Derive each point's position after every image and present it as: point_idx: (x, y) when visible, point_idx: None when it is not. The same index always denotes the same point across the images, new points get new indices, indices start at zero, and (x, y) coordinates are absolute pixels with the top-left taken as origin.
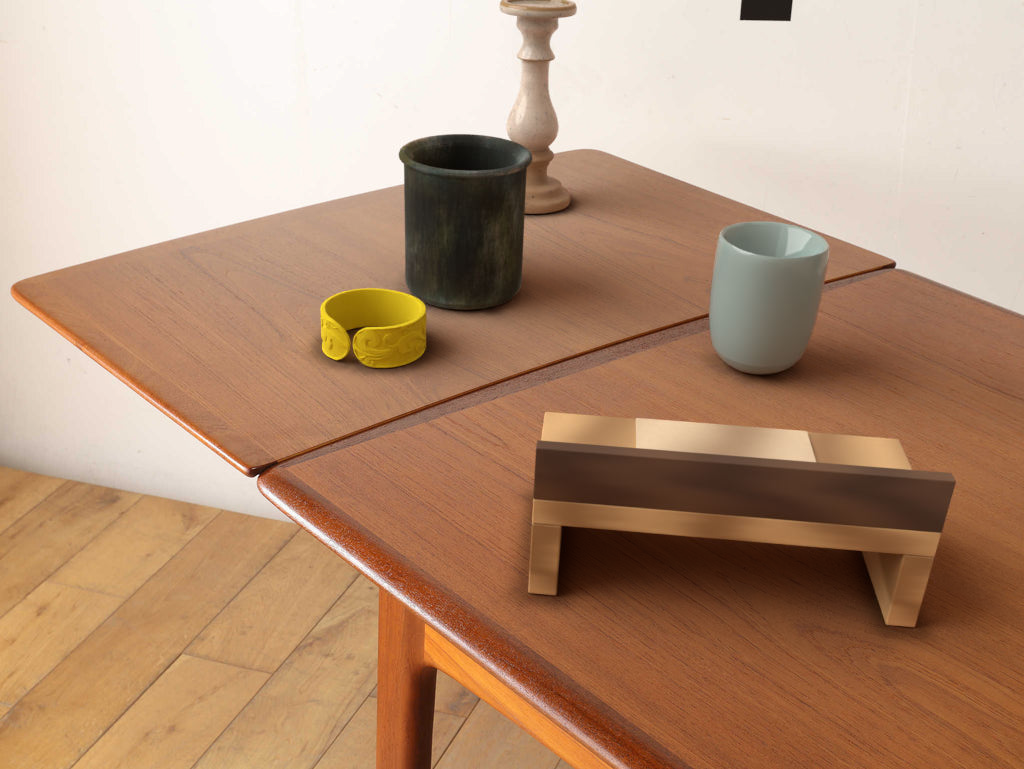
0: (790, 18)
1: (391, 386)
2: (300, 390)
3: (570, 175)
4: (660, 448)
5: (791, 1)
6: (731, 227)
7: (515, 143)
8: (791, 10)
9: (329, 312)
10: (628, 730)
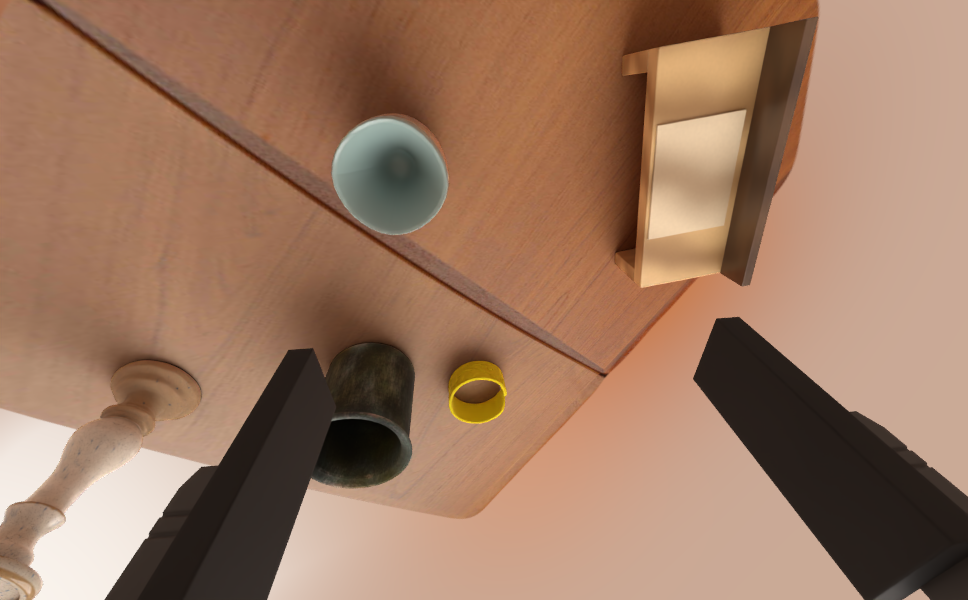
0: (741, 319)
1: (518, 360)
2: (534, 392)
3: (47, 379)
4: (683, 220)
5: (761, 337)
6: (371, 226)
7: None
8: (750, 327)
9: (478, 416)
10: (776, 189)
